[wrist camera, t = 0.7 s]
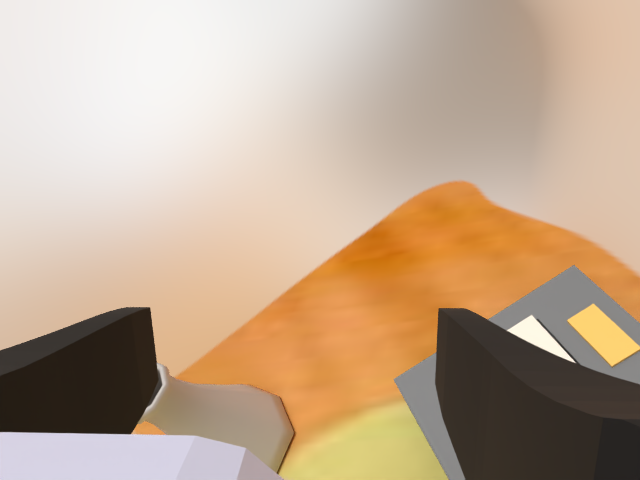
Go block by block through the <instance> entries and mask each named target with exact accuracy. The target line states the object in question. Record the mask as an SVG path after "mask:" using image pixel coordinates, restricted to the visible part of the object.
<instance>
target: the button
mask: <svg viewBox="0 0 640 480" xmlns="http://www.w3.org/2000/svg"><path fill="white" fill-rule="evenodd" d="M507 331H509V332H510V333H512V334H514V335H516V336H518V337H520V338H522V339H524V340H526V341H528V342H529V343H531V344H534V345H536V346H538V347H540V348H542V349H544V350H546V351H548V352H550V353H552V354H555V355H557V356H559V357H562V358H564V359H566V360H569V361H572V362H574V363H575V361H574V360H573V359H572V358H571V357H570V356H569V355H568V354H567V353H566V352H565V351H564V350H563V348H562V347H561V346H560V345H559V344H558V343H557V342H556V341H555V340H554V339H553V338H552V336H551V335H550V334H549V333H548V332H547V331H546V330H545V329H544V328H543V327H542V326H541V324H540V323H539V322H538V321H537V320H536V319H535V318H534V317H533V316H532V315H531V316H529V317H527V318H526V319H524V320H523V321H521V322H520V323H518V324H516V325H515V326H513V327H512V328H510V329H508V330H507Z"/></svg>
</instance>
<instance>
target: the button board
mask: <svg viewBox="0 0 640 480" xmlns="http://www.w3.org/2000/svg"><path fill="white" fill-rule="evenodd" d="M531 315H532V316H533V317H534V318H535V319H536V320H537V321H538V322H539V323H540V324H541V326H542V327H543V328H544V329H545V330H546V331H547V332H548V333H549V334H550V335H551V336H552V338H553V339H554V340H555V341H556V342H557V343H558V344H559V345H560V346H561V347H562V348H563V350H564V351H565V352H566V353H567V354H568V355H569V356H570V357H571V358H572V359H573V360H574V361H575V363H577V364H579V365H582V366H585V367H587V368H590V369H593V370H595V371H598V372H601V373H604V374H607V375H610V376H613V377H617V378H620V379H624V380H627V381H630V382H634V383H637V384H640V323H639V322H638V321H636V320H635V319H634V318H633V317H632V316H631V315H630V314H629V313H627V312H626V311H625V310H624V309H623V308H622V307H621V306H620V305H618V304H617V303H616V302H615V301H614V300H613V299H612V298H611V297H609V296H608V295H607V294H606V293H605V292H604V291H603V290H602V289H600V288H599V287H598V286H597V285H596V284H595V283H594V282H593V281H591V280H590V279H589V278H588V277H587V276H586V275H585V274H584V273H582V272H581V271H580V270H579V269H578V268H577V267H576V266H575V265H573V266H572V267H570V268H569V269H567V270H565V271H564V272H562V273H561V274H559V275H557V276H556V277H554V278H553V279H551V280H550V281H548V282H546V283H545V284H543V285H542V286H540V287H539V288H537V289H535V290H534V291H532V292H531V293H529V294H528V295H526V296H524V297H523V298H521V299H520V300H518V301H516V302H515V303H513V304H512V305H510V306H509V307H507V308H505V309H504V310H502V311H501V312H499V313H498V314H496V315H494V316H493V317H491V318H490V319H488V320H489V321H491V322H493V323H494V324H496V325H498V326H500V327H501V328H503V329H505V330H508V329H510V328H512V327H513V326H515V325H516V324H518V323H520V322H521V321H523V320H524V319H526V318H527V317H529V316H531ZM435 372H436V353H434V354H433V355H431V356H430V357H428V358H427V359H425V360H423V361H422V362H420V363H419V364H417V365H416V366H414V367H412V368H411V369H409V370H408V371H406V372H405V373H403V374H401V375H400V376H398V377H397V378H395V379H394V381H395V383H396V385H397V387H398V388H399V390H400V392H401V394H402V396H403V397H404V399H405V401H406V403H407V405H408V406H409V408H410V410H411V412H412V414H413V415H414V417H415V419H416V421H417V423H418V424H419V426H420V428H421V430H422V432H423V433H424V435H425V437H426V439H427V441H428V443H429V444H430V446H431V448H432V450H433V452H434V453H435V455H436V457H437V459H438V461H439V462H440V464H441V466H442V468H443V470H444V471H445V473H446V475H447V477H448V479H449V480H465V477H464V475H463V472H462V469H461V467H460V464H459V461H458V459H457V456H456V453H455V451H454V448H453V445H452V443H451V440H450V437H449V435H448V432H447V429H446V426H445V424H444V421H443V418H442V414H441V409H440V405H439V400H438V396H437V391H436V386H435Z"/></svg>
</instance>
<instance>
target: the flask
mask: <svg viewBox="0 0 640 480" xmlns="http://www.w3.org/2000/svg"><path fill="white" fill-rule="evenodd" d="M157 369H158V377H159V381H158V383H157V385H156V388H155V390H154V392H153V395H152V397H151V399H150V402H149V404H148V406H147V408H146V410H145V412H144V414H143V416H142V417H141V419H140V421H139V422H138V424H141V423H143V422H144V421H147V422H150V423H152V424H154V425H155V426H156V427H158V428H159V429H160V430H162V431H163V432H164V433H165V434H167V435H189V436H199V437H203V438H207V439H211V440H216V441H220V442H224V443H228V444H232V445H236V446H240V447H244V448H247V449H248V450H249V451H250V452H251V453H253V454H254V455H255V456H256V457H257V458H259V459H260V460H261V461H262V462H263V463H265V464H266V465H267V466H268V467H270V468H271V469H272V470H273V471H274V472H276V473H277V471H278V469H279V466H280V464H281V462H282V459H283V457H284V455H285V453H286V450H287V448H288V446H289V444H290V441H291V439H292V437H293V434H294V431H293V429H292V426H291V424H290V421H289V419H288V416H287V414H286V412H285V409H284V407H283V404H282V402H281V399H280V397H279V396H277V395H274V394H272V393H269V392H267V391H264V390H262V389H259V388H256V387H254V386H251V385H243V384H240V385H212V384H192V383H189V382H185V381H182V380H178V379H175V378H174V377H172V376H170V375H169V370H168V368H167V367H166V366H164V365H161V364H159V363H157Z"/></svg>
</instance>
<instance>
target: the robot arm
mask: <svg viewBox="0 0 640 480" xmlns="http://www.w3.org/2000/svg"><path fill="white" fill-rule="evenodd" d="M158 381H159V377H158V369H157V361H156V353H155V344H154V336H153V327H152V319H151V311H150V308H149V307H130V308H129V307H126V308H121V309H117V310H113V311H109V312H106V313H103V314H100V315H98V316H95V317H92V318H89V319H87V320H84V321H81V322H79V323H76V324H74V325H71V326H68V327H66V328H63V329H60V330H58V331H55V332H52V333H50V334H47V335H44V336H41V337H38V338H35V339H33V340H30V341H27V342H24V343H21V344H19V345H15V346H13V347H10V348H7V349H3V350H1V351H0V480H284V479H283V478H282V477H280V476H279V475H278V474H277V473H276V472H274V471H273V470H272V469H271V468H270V467H268V466H267V465H266V464H265V463H263V462H262V461H261V460H260V459H259V458H257V457H256V456H255V455H254V454H253V453H251V452H250V451H249V450H248V449H247V448H244V447H240V446H236V445H232V444H228V443H224V442H220V441H216V440H211V439H207V438H203V437H199V436H189V435H133V434H131V433H132V432H133V430H134V428H135V427H136V425H137V424H138V422H139V421H140V419H141V417H142V416H143V414H144V412H145V410H146V408H147V406H148V404H149V402H150V399H151V397H152V395H153V392H154V390H155V388H156V385H157V383H158ZM435 386H436V391H437V396H438V400H439V405H440V409H441V414H442V418H443V421H444V424H445V426H446V429H447V432H448V435H449V437H450V440H451V443H452V445H453V448H454V451H455V453H456V456H457V459H458V461H459V464H460V467H461V469H462V472H463V475H464V477H465V480H640V384H637V383H634V382H630V381H627V380H624V379H620V378H617V377H613V376H610V375H607V374H604V373H601V372H598V371H595V370H593V369H590V368H587V367H585V366H582V365H579V364H577V363H574V362H572V361H569V360H566V359H564V358H562V357H559V356H557V355H555V354H552V353H550V352H548V351H546V350H544V349H542V348H540V347H538V346H536V345H534V344H531V343H529V342H528V341H526V340H524V339H522V338H520V337H518V336H516V335H514V334H512V333H510V332H509V331H507V330H505V329H503V328H501V327H500V326H498V325H496V324H494V323H493V322H491V321H489V320H487V319H485V318H484V317H482V316H480V315H478V314H476V313H474V312H472V311H470V310H467V309H464V308H439V312H438V332H437V352H436V372H435Z"/></svg>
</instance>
